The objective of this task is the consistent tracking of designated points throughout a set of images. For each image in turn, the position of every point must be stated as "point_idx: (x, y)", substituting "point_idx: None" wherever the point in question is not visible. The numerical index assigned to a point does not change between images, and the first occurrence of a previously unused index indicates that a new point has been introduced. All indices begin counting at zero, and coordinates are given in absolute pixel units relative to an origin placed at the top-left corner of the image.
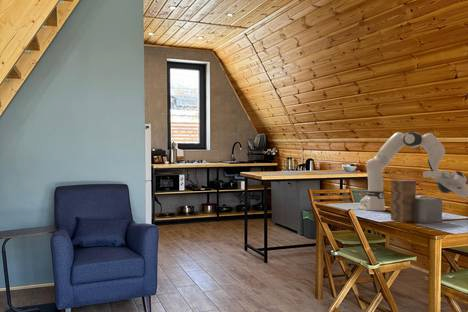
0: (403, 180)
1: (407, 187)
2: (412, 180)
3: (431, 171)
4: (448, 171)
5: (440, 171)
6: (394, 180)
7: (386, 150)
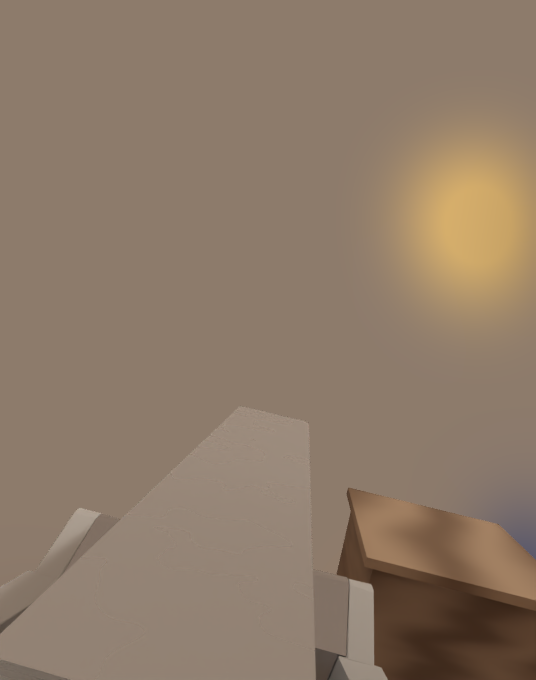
0: (420, 525)
1: (346, 570)
2: (393, 549)
3: (266, 435)
4: (27, 631)
5: (183, 464)
6: (445, 511)
7: None
